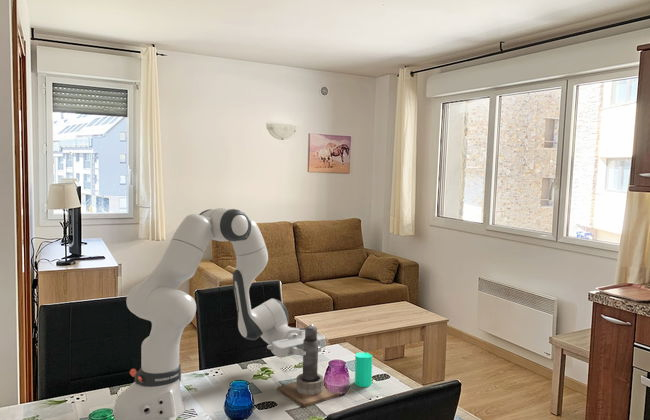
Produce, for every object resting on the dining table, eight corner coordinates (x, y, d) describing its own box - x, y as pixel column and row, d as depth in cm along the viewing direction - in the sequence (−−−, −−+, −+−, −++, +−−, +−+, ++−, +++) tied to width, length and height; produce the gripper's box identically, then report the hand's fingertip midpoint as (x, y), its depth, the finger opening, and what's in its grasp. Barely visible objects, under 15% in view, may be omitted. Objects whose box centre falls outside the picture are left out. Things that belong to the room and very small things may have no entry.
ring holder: (304, 407, 159) (304, 392, 159) (277, 389, 172) (277, 375, 172) (342, 394, 169) (343, 380, 169) (314, 379, 182) (314, 365, 182)
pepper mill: (308, 390, 167) (309, 327, 166) (299, 385, 171) (300, 323, 170) (320, 386, 170) (321, 325, 169) (311, 381, 174) (312, 321, 173)
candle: (372, 387, 176) (373, 353, 175) (355, 386, 176) (355, 353, 175) (371, 380, 182) (371, 348, 181) (354, 379, 182) (355, 347, 181)
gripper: (264, 336, 173) (286, 348, 162) (312, 327, 186) (335, 337, 175) (264, 354, 174) (286, 367, 163) (311, 343, 186) (335, 354, 175)
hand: (312, 351), depth 169 cm, fingers closed on pepper mill, 5 cm apart
